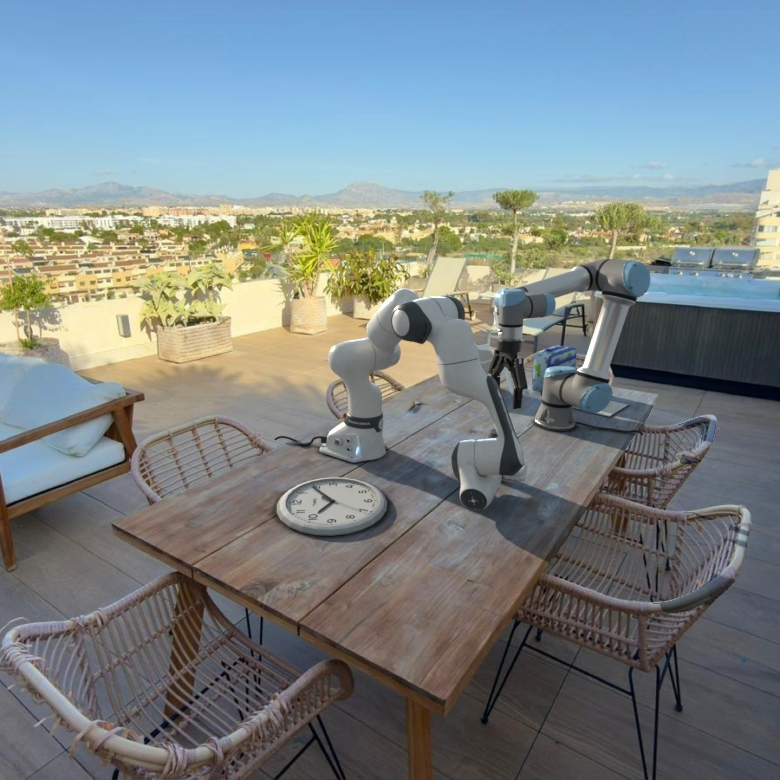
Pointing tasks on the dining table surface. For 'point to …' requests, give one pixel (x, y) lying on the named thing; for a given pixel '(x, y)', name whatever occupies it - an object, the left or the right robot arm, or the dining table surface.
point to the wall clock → (331, 506)
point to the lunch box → (551, 363)
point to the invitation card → (611, 408)
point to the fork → (415, 403)
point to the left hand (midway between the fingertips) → (496, 456)
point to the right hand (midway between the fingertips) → (505, 402)
